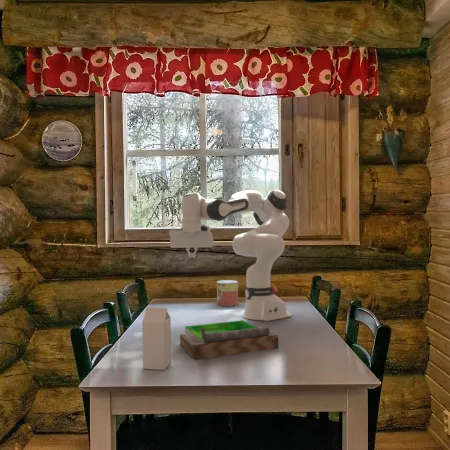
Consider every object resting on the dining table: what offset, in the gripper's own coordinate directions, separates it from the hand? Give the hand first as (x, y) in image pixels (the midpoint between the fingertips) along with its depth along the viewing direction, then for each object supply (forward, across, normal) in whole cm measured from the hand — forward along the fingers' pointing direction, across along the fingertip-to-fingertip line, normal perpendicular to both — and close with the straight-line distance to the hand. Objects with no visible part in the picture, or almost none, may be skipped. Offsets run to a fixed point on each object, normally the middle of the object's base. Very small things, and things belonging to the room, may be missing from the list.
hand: (192, 257), depth 214 cm
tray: (+29, +14, -42) cm, 52 cm away
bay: (+28, +15, -47) cm, 57 cm away
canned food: (+29, +17, +29) cm, 45 cm away
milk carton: (+28, -9, -67) cm, 73 cm away
